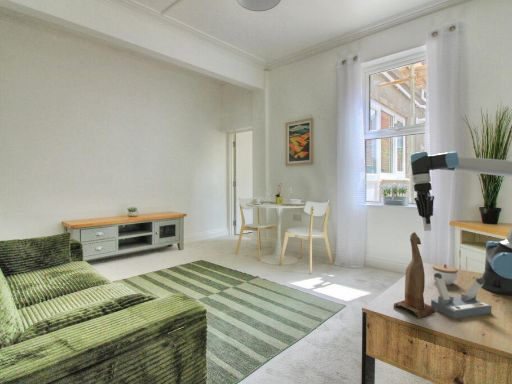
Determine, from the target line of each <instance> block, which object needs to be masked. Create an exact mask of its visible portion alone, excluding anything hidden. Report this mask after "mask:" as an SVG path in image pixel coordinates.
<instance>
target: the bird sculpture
mask: <svg viewBox="0 0 512 384" xmlns="http://www.w3.org/2000/svg"><path fill="white" fill-rule="evenodd" d="M409 241H410V245H411V260H410V262H409V263H408V265H407V267H406V269H405V278H404V279H405V281H404V300H401V301H397V302H394V303H393V307H394V308H395V307H397V306H401V307H403V308H405V309H408V310H410V311H412V312H413V313H414V314H415V315H416V317H417V319H419V320H420V319H421V318H425V317H428V316H430V315H432V314H436V309H435V308H434V307H433V306H431V304H428V303H425V297H424V293H425V282H426V281H425V268H424V262H423V259H422V256H421V252H420V249H419V246H418V245H422V242H421V239H420V237H419V236H418V235H417V232H415V231H413V232H412V233H411V234H410V235H409Z"/></svg>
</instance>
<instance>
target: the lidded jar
mask: <svg viewBox="0 0 512 384" xmlns="http://www.w3.org/2000/svg"><path fill="white" fill-rule="evenodd" d="M435 273H440V274H441V275H442V277H443V279H444V282H445V285H446V286H447V285H448V286H449V285H452V284H453V283H455V282H456V280H457V278H458V273H459V269H458V268H457V267H455V266H451V265H447V264H439V263H438V264H433V265H432V275H433V276H434V274H435Z"/></svg>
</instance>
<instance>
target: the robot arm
mask: <svg viewBox="0 0 512 384" xmlns="http://www.w3.org/2000/svg"><path fill="white" fill-rule="evenodd" d="M410 166H411V172H412V173H411V174H412V181H413V190H414V192H416V197H414V199H413V200H414V201H415V205H416V208H417V212H418V216H419V217H421V219H422V223H423V224H422V225H423V231H426V232H429V231H432V225H431V217H432V216H434V200H435V196H434V195H431V192H430V191H432V189H433V188H432V183H431V173H430V171H436V170H441V171H442V170H443V171H444V170H445V171H454V172H465V173H471V174H473V173H474V174H483V175H491V176H500V177H507V178H508V177H510V178H512V160H507V159H499V158H498V159H497V158H495V159H494V158H486V157H485V158H484V157H474V156H473V157H472V156H461V155H460V156H459V155H458V152H457V151H447V152H443V153H442V152H441V153H437V154H428V152H427V151H418V152H413V153H412V154H410ZM481 278H483V279H484V281H485V283H484V284H483V285H482V287H481V288H482V289H484V290H486V291H489V292H492V293H497V294H500V295H507V296H512V228H511V229H510V231H509V232H508V235H507V236H506V237H505V239H504V240H499V241H495V240H494V241H493V240H488V241H487V242H486V245H485V262H484V271H483V274H482V275H481Z"/></svg>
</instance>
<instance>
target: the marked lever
mask: <svg viewBox="0 0 512 384" xmlns="http://www.w3.org/2000/svg"><path fill="white" fill-rule="evenodd" d="M484 283H485V281H484V279H483V278H482V276H481V277H479V276H478V277H476V278H475V280H474V281H473V283H472V284H471V285H470V287H469V288H468V290H467V291H466V293H465V294H466V295H467V299H473V298H474V297H475V295H476V296H477V294H478V292H479V291H480V290H481V288H482V285H483V284H484Z"/></svg>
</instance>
